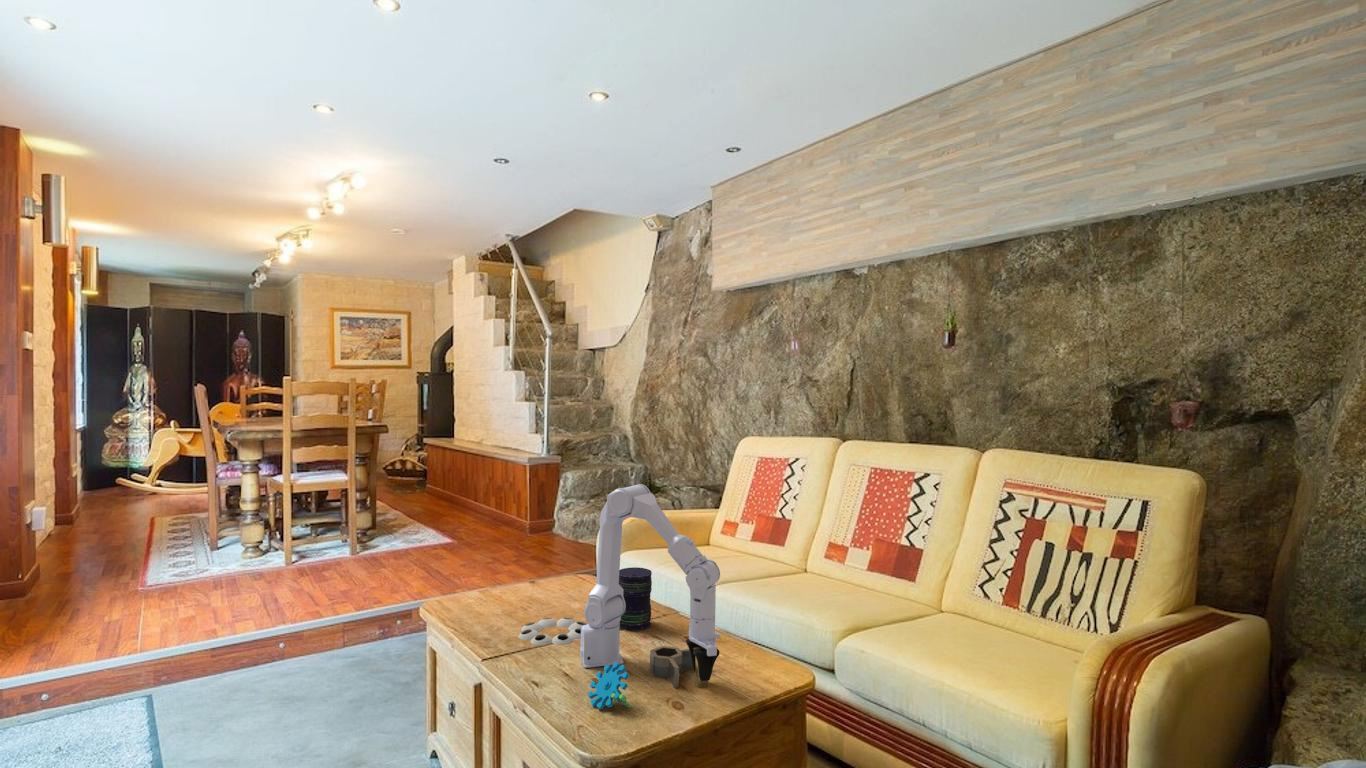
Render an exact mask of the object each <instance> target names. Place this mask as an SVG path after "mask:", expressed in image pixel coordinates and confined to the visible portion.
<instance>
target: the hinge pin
mask: <svg viewBox="0 0 1366 768" xmlns="http://www.w3.org/2000/svg"><path fill="white" fill-rule="evenodd" d="M694 649H702V646H697V647H695V648H694ZM693 653H694V651H693ZM694 655H695V653H694ZM694 674H695V675H694V686H695V687H696V688H702V689H703V688H704V689H705V688H708V686H709V680H708V681H701V680H700V677H699V670H698V663H697V659H696V657H695V672H694Z"/></svg>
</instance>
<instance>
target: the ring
mask: <svg viewBox="0 0 1366 768" xmlns="http://www.w3.org/2000/svg"><path fill="white" fill-rule="evenodd" d="M587 624H588V623H586V622H584V621H583V622H582V621H576V620H575V619H573V618H570V617H562V618H560V619H559V620H556V619H554V618H553V617H547V618H546V617H545V618H541V619H540V620H538V622H535V621H534V622H529V623H525V624H524V625H523V626H522V628H521V629H520V631H521V632H520V633H519V634H518V635H517V637H518V639H520V640H521V641H530V644H532V645H534V646H547V645H550V644H553V645H556V646H557V645H558V646H566V645H570V644H571V643H573V642H574V640H581V633H578V632H581V626H583V625H587ZM553 627H558V628H567V629H568V630H569V632H568V633H560V634H557V635H555V636H553V637H551V636H550V635H549V634H546V633H541V634H540V632H541V631H542V630H544V629H545V628H546V629H547V628H549V629H550V628H553ZM543 628H544V629H543ZM537 638H538V639H539V638H542V639H541V640H537ZM559 638H566V639H564V640H562V639H559Z"/></svg>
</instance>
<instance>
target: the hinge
mask: <svg viewBox="0 0 1366 768" xmlns="http://www.w3.org/2000/svg"><path fill="white" fill-rule="evenodd" d="M689 669H690V670H694V669H693V664H692V658H691V654H690V650H689V648H685V649H680V648H679V647H675V646H668V645H667V646H665V645H663V646H662V645H660V646H658V647H655V648H653V649H650V651H649V671H650V672H651V674H652V676H653V677H657V678H664V679H665V678H666V679H668V680H669V682H670V684H671V685H672V687H673V688H674V689H678V688H680V687H679V685H680V683H679V682H680V675H682V674H683V671H686V670H687V671H688V670H689Z"/></svg>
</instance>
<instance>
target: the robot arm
mask: <svg viewBox="0 0 1366 768" xmlns="http://www.w3.org/2000/svg"><path fill="white" fill-rule="evenodd" d="M629 517H630V518H632V519H633V518H635V519H640V520H645V521H646V522H647V523H648V524H649V525H650V526H651V527H652V528H653V529H654V531H655V532H656V533H657V534H658V535H659V536H660V538H662V539H663V540H664V541H665V543H666V544H667V553H668V554H669V556H671V558H672V559H673V560H674V561H675V563H676V564H677V565H678V566H679V568H680V569H681V570H682V571H683V573H684V574H685V575H686V576H685V583H686V584H687V587H688V588H689V590H690V591H689V592H690V593H689V594H690V595H689V596H690V600H689V603H690V604H689V625H688V638H687V639H686V640H685V643H686V645H687V647H688V648H687V649H689V650H690V654H691V658H692V664H693V669H692V670H693V672H694V673H695V657H696V659H697V663H698V670H699V677H700V680H701V681H708V682H709V681H710V680H711V677H712V673H713V669H714V665H715V663H716V661H717V659H718V657H719V655H720V650H719V648H718V646H717V643H716V642H717V639H720V638H721V634H720V633H719V632H717V631H716V599H717V598H716V597H717V595H716V594H717V593H716V591H717V590H716V587H717V586H716V584H717V583H718V582H719V580H720V578H721V571H720V568H719V566H718V564H717V563H716V561H714V560H712V559H708V558H707V557H706V556H705V555H704V554H703V553H702V552H701V551H700V550H699V549H698V547H697V546H696V545H695V544H694V543H695V541H694V539H693V538H692V537H690V538H689V537H688V536H687V535H685V534H683V535H682V534H680V533H679V532H678V531H677V529H676V528H675V527H674V525H673V523H672V522H671V521H670V519H669V518H668V517H667V515H666V514H665V512H663V510H662V508H661V507H660V505H659V504H658V502H657V499H656V496H655V494H654V493H653V492H651V490H650V489H649V488H648V487H647V485H645V484H642V483H638V484H635V485H631V486H626V487H619V488H616V489H614V490H612V491H611V492H610V493H609V494H607V495H606V503H605V504H604V506H603V508H602V509H601V511H600V517H599V533H598V534H599V535H598V536H599V537H598V548H597V550H598V551H597V565H596V581H595V583H596V584H595V585H594V587H593V588H592V590H591V591H590V592H589V593H588V597H587V602H586V605H585V606H584V610H583V614H584V618H585V621H586V622H587V623H586V624H587V625H583V626H581V631H580V634H581V639H580V650H579V651H580V652H579V653H580V654H579V656H580V660H581V662H582V665H583V667H584V668H586V669H588V668H597V667H605V666H606V665H610V666H613V663H614V662H616V663H618V664H619V665H622V664H623V665H624V660H623V659H622V656H621V654H620V638H621V637H620V634H621V632H620V630H621V629H620V621H621V615H623V613H624V612H625V608H626V604H625V600H624V597H623V588H622V587H621V586H620V585H619V570H621V569H620V566H621V553H622V552H621V550H622V537H623V536H622V535H623V534H622V533H623V523H624V521H625V520H627V519H628V518H629ZM697 646H702V649H694V648H695V647H697ZM693 651H694V653H695V655H694V653H693Z"/></svg>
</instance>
